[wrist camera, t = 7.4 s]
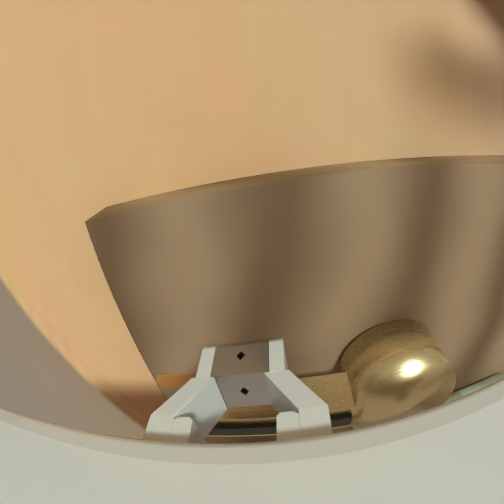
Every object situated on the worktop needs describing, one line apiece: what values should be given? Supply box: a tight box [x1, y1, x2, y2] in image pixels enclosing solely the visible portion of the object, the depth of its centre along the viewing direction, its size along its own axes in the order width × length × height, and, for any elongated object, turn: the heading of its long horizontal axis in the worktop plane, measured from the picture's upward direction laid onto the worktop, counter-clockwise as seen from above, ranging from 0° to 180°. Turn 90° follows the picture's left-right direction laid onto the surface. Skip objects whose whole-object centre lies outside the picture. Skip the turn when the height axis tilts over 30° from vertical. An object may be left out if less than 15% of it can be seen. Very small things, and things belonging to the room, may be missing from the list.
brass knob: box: [207, 319, 456, 437], centre depth 12 cm, size 12×5×3 cm, turn 98°
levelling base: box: [85, 156, 504, 444], centre depth 13 cm, size 26×20×4 cm
